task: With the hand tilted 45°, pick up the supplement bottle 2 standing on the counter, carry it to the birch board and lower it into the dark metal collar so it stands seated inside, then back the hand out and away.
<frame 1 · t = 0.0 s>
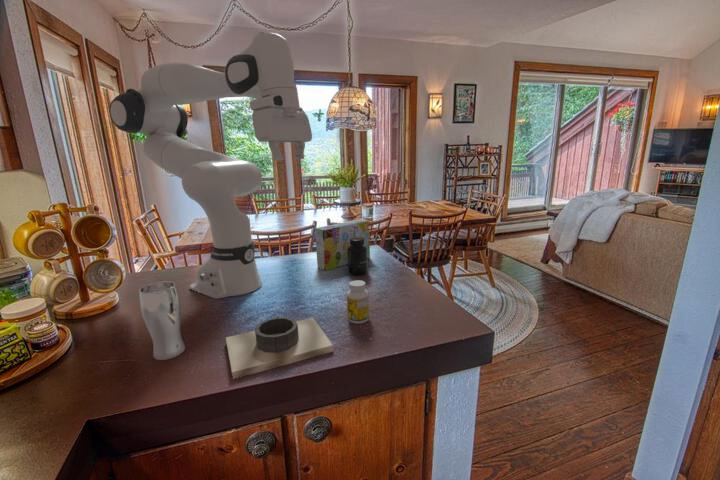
hand: (290, 159, 90), 39 cm above the countertop, tool pointing down, fingers open, 8 cm apart
beer glass: (169, 352, 74), on the countertop
supplement bottle 2: (358, 319, 87), on the countertop
snack box: (344, 263, 130), on the countertop
collar stand: (278, 347, 75), on the countertop
supplement bottle: (357, 273, 119), on the countertop
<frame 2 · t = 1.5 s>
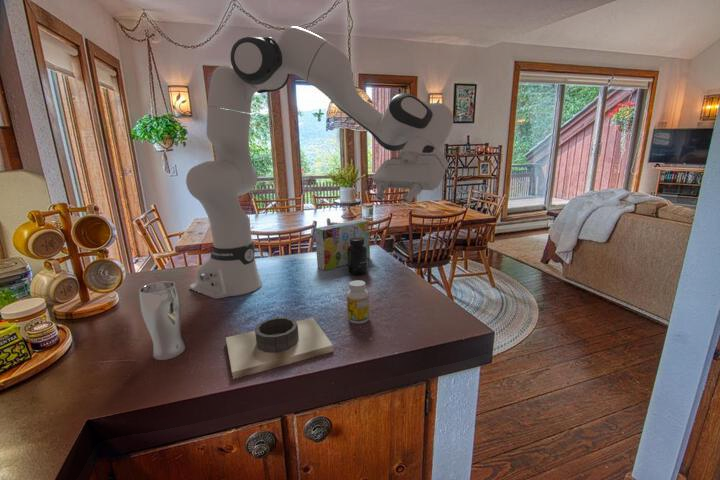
hand: (392, 199, 87), 29 cm above the countertop, tool tilted 45°, fingers open, 8 cm apart
nothing on the countertop moved.
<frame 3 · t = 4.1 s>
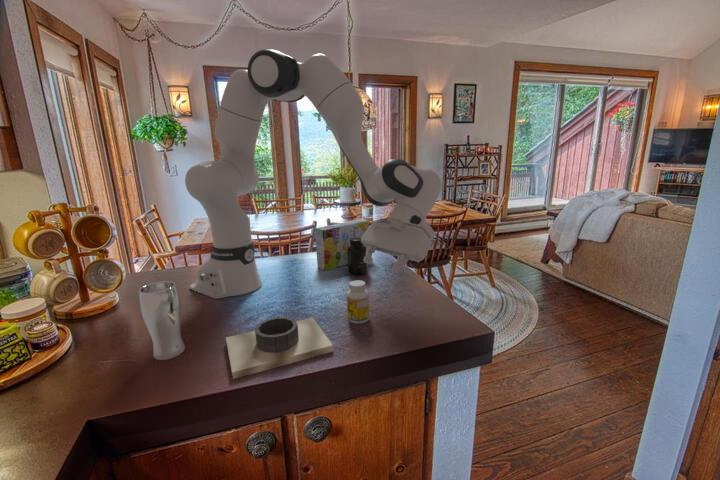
hand: (378, 266, 88), 12 cm above the countertop, tool tilted 45°, fingers open, 8 cm apart
nothing on the countertop moved.
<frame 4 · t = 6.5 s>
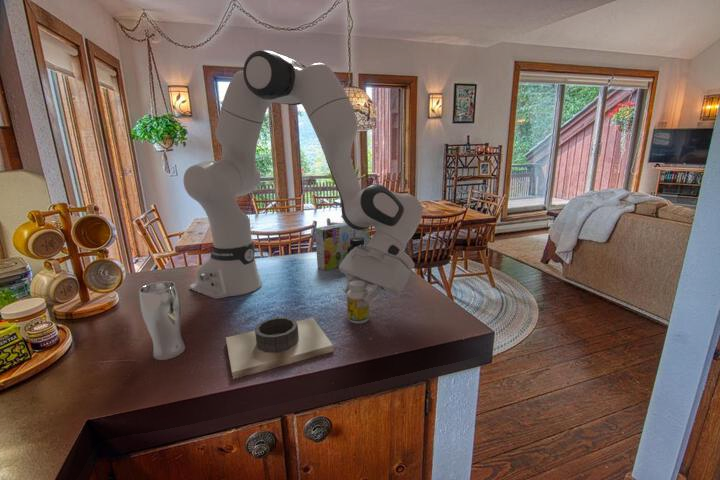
hand: (355, 297, 85), 6 cm above the countertop, tool tilted 45°, fingers closed on supplement bottle 2, 5 cm apart
supplement bottle 2: (358, 319, 87), on the countertop, touching gripper
everything else where it was.
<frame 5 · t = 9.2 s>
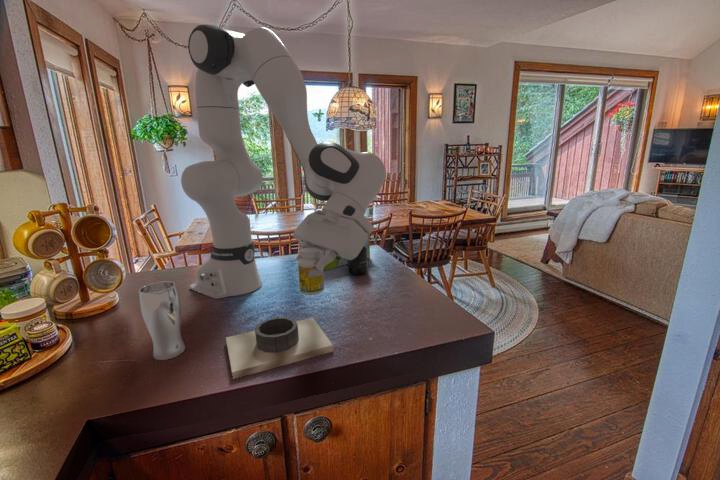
hand: (308, 265, 75), 17 cm above the countertop, tool tilted 45°, fingers closed on supplement bottle 2, 5 cm apart
supplement bottle 2: (312, 291, 78), point 10 cm above the countertop, touching gripper
everything else where it was.
when the fingers open (9 cm above the countertop, at t = 12.3 s): supplement bottle 2 stays where it is, resting on collar stand.
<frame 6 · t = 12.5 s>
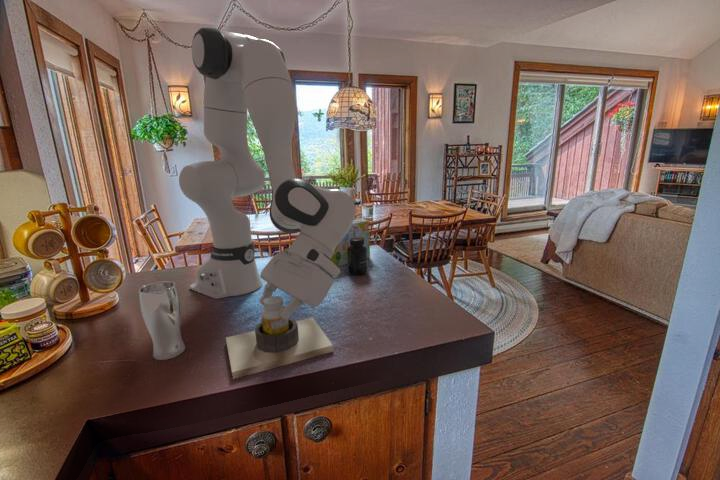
hand: (272, 310, 72), 9 cm above the countertop, tool tilted 45°, fingers open, 7 cm apart
supplement bottle 2: (277, 341, 75), point 1 cm above the countertop, touching collar stand
everything else where it was.
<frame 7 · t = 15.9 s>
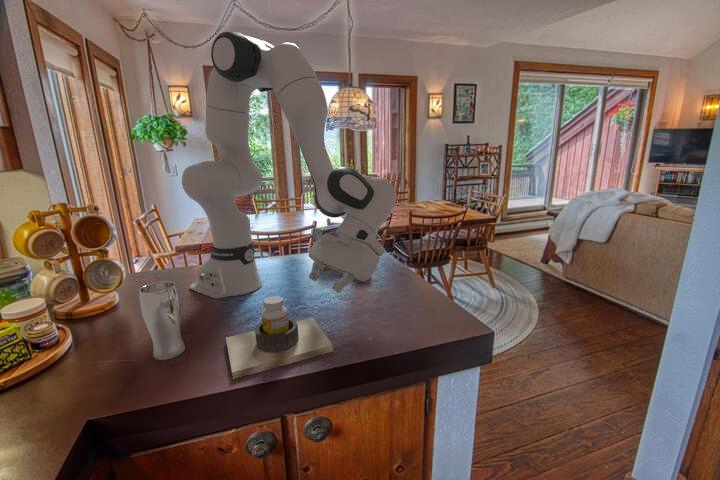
hand: (323, 284, 81), 11 cm above the countertop, tool tilted 45°, fingers open, 8 cm apart
nothing on the countertop moved.
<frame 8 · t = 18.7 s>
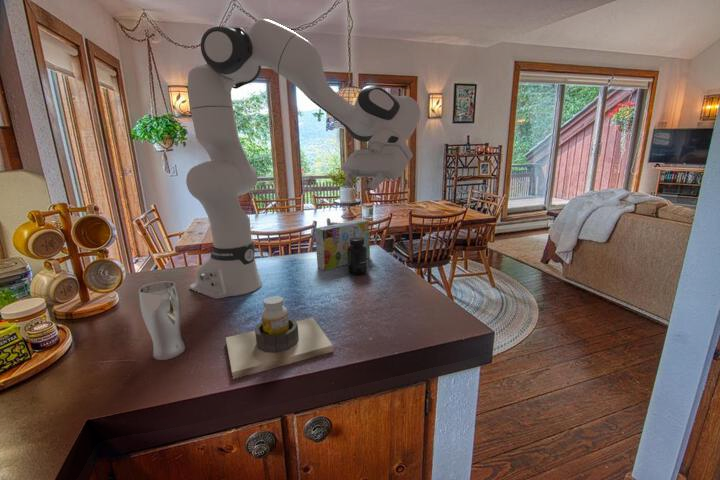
hand: (357, 187, 90), 31 cm above the countertop, tool tilted 45°, fingers open, 8 cm apart
nothing on the countertop moved.
at the end: supplement bottle 2 0.1 cm off-centre on the collar stand, point 1.3 cm above the collar stand's base; supplement bottle 2 tilted 0°; the gripper is holding nothing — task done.
